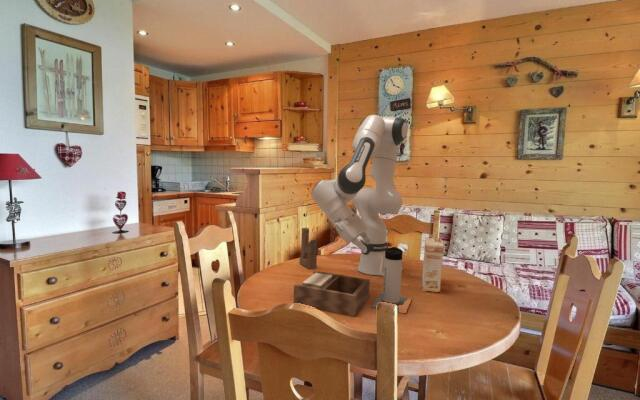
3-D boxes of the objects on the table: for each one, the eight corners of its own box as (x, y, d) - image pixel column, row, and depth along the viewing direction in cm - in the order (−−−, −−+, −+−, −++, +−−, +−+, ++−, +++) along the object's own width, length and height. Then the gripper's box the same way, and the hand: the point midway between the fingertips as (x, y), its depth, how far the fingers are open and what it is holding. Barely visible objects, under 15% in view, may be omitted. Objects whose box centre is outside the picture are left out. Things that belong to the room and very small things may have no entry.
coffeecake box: (440, 293, 144) (444, 246, 141) (422, 291, 145) (425, 244, 143) (438, 282, 158) (442, 238, 156) (421, 279, 160) (425, 237, 158)
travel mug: (400, 300, 134) (403, 247, 132) (399, 306, 128) (402, 251, 125) (383, 297, 136) (386, 246, 133) (381, 304, 129) (384, 250, 127)
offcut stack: (301, 302, 130) (301, 282, 130) (314, 290, 142) (315, 272, 142) (320, 306, 128) (321, 285, 127) (332, 294, 140) (333, 275, 139)
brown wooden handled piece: (309, 269, 169) (311, 232, 167) (299, 263, 178) (300, 227, 176) (316, 268, 171) (318, 231, 169) (305, 262, 180) (306, 227, 178)
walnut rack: (293, 304, 128) (294, 285, 127) (314, 287, 146) (314, 270, 145) (354, 316, 120) (355, 296, 119) (368, 297, 137) (369, 279, 136)
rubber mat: (380, 294, 140) (380, 293, 140) (411, 300, 136) (412, 298, 136) (371, 307, 127) (371, 306, 127) (406, 314, 123) (406, 312, 123)
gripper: (339, 215, 125) (365, 246, 123) (355, 208, 144) (378, 235, 141) (327, 227, 127) (352, 257, 125) (344, 218, 146) (367, 245, 144)
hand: (366, 245), depth 133 cm, fingers open, 8 cm apart
